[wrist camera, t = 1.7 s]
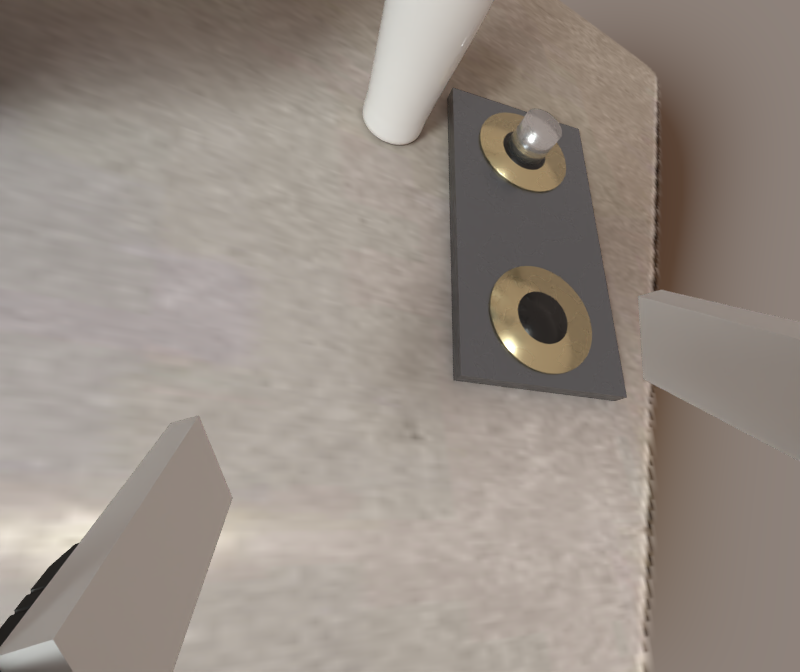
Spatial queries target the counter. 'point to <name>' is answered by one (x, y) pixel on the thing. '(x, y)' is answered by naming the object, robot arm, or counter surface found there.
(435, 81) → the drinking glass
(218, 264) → the counter surface
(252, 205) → the counter surface
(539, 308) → the bolt plate
